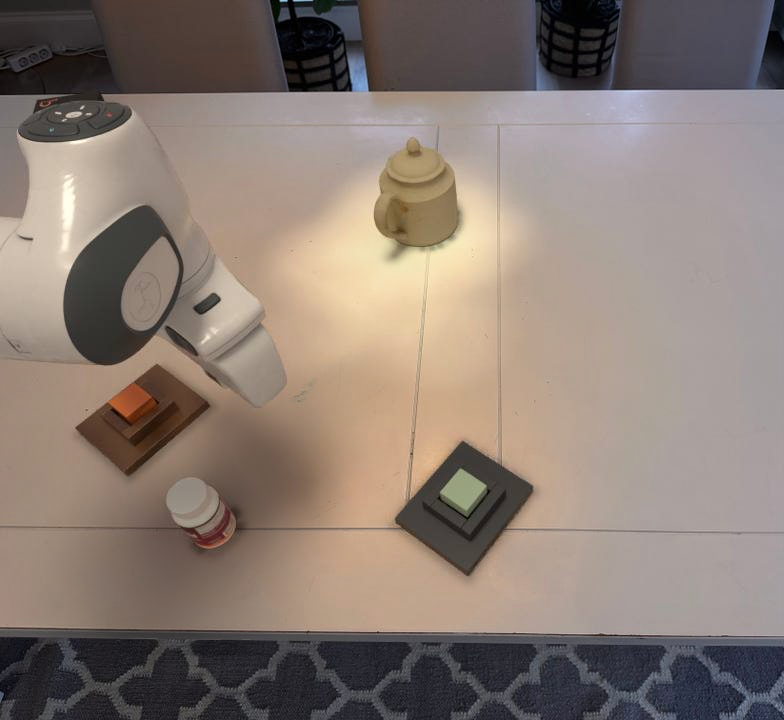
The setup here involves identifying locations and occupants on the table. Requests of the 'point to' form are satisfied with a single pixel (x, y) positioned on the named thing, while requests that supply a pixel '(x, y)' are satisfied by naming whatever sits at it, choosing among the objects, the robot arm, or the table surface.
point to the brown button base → (144, 421)
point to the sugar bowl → (417, 197)
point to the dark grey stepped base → (451, 528)
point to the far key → (132, 403)
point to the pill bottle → (200, 512)
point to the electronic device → (67, 100)
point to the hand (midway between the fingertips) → (223, 378)
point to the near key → (463, 492)
